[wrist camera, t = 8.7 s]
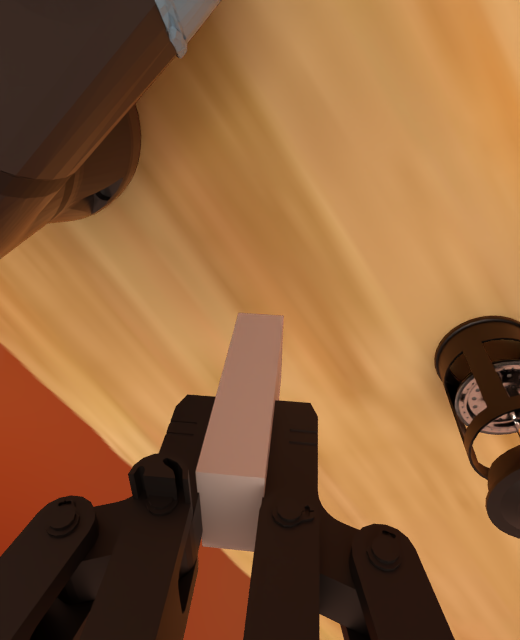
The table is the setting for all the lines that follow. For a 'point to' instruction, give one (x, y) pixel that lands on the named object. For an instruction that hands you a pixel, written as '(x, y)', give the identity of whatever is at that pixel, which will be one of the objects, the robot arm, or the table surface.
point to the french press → (487, 408)
